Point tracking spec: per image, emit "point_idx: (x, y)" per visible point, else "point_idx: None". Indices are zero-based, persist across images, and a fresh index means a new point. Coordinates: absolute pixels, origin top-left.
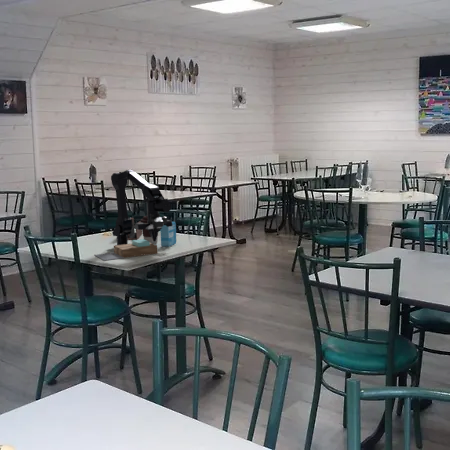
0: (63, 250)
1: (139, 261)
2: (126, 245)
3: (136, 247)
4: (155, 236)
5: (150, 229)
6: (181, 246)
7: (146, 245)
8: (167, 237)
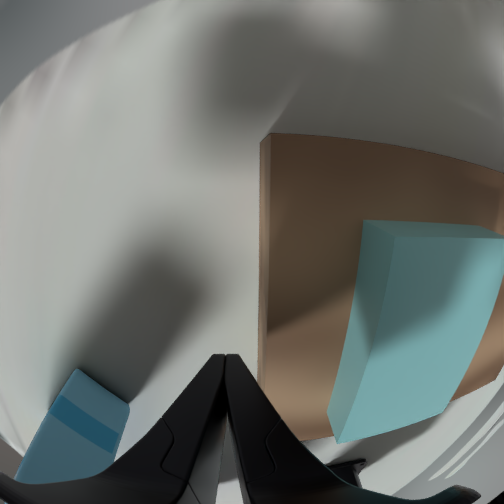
0: (476, 438)
1: (465, 8)
2: (475, 356)
3: (497, 209)
4: (208, 403)
5: (465, 502)
6: (11, 322)
7: (410, 222)
8: (56, 420)
